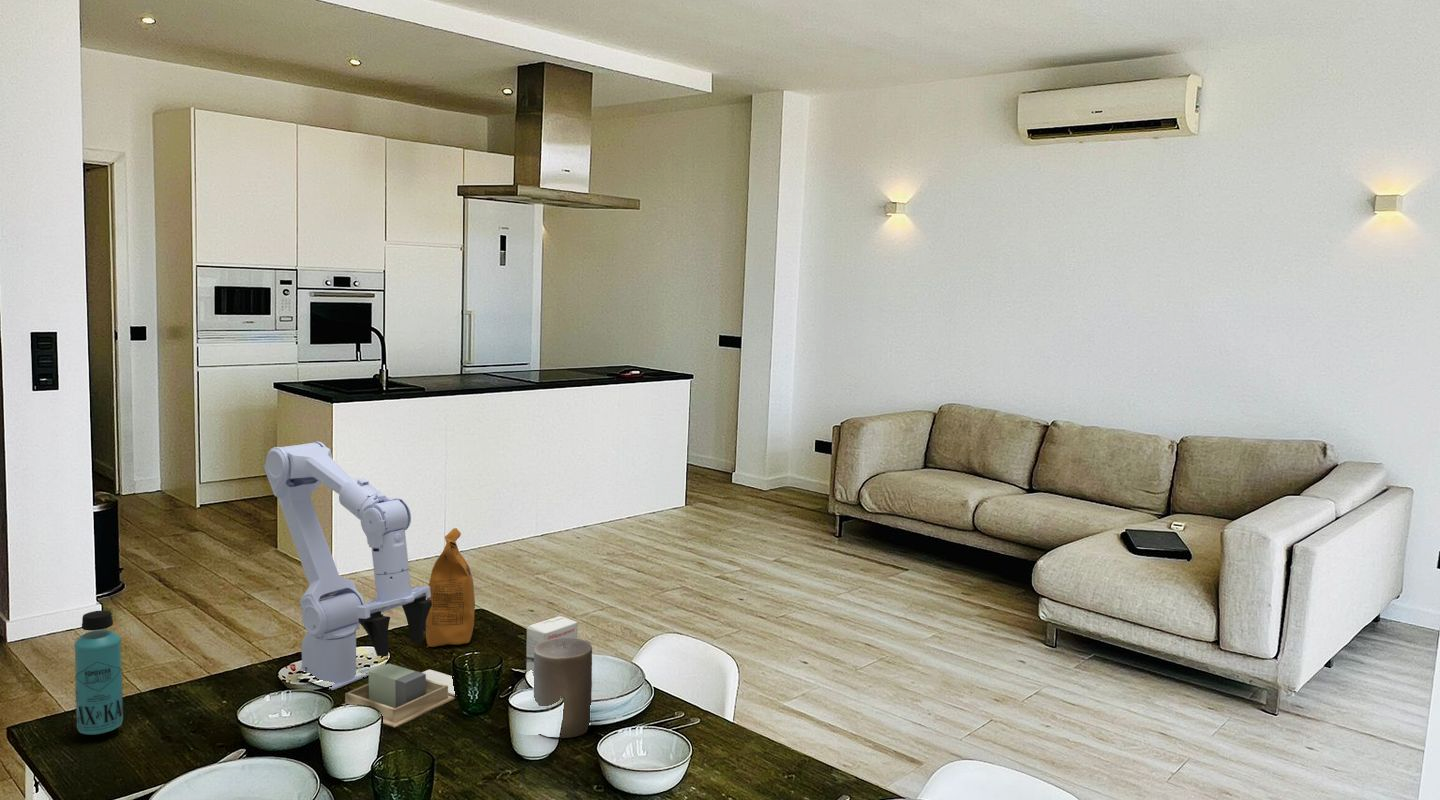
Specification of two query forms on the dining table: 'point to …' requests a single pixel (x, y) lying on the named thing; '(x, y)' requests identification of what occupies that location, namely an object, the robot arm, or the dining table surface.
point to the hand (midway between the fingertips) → (400, 649)
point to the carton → (408, 711)
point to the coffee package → (450, 597)
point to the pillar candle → (565, 680)
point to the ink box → (548, 635)
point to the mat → (441, 679)
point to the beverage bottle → (98, 676)
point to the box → (395, 685)
